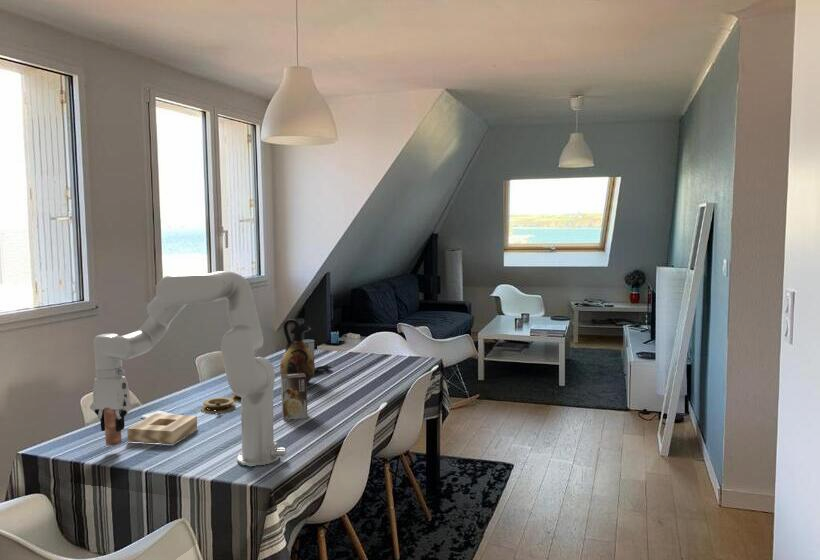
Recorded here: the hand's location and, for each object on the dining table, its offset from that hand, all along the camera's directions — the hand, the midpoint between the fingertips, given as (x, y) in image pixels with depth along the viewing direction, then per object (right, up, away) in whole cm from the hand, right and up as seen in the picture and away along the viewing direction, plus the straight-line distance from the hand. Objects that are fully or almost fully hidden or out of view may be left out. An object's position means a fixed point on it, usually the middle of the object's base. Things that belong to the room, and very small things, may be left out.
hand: (112, 429), depth 191 cm
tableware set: (+22, -4, +54) cm, 59 cm away
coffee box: (+51, -5, +36) cm, 62 cm away
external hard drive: (+1, -5, +35) cm, 35 cm away
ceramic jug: (+43, 0, +82) cm, 92 cm away
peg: (0, -4, 0) cm, 4 cm away
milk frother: (+46, +2, +109) cm, 118 cm away
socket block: (+10, -6, +15) cm, 19 cm away
